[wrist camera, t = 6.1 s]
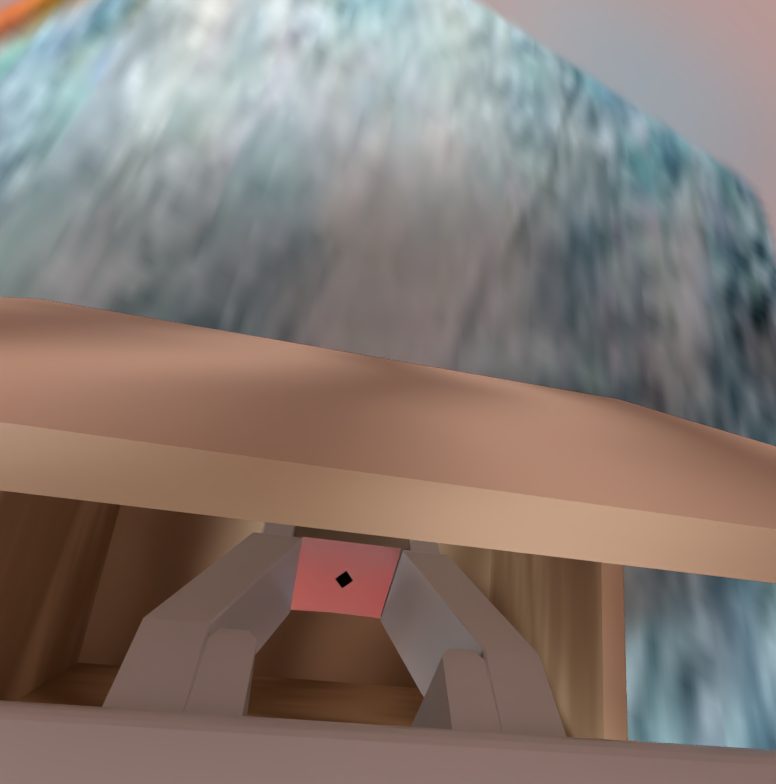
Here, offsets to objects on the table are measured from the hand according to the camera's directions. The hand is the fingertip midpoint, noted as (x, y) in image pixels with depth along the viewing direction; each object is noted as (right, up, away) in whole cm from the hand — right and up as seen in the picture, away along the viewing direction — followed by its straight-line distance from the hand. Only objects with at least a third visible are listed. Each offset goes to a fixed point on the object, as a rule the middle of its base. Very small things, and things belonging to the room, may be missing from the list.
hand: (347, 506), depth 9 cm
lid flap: (0, +2, 0) cm, 2 cm away
